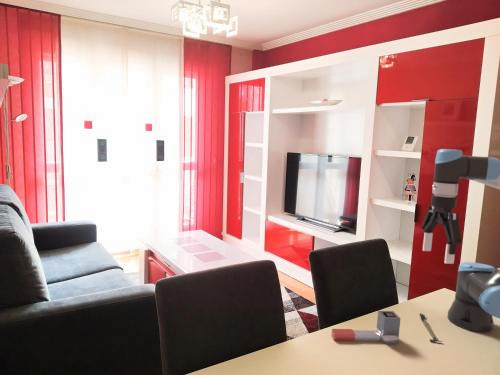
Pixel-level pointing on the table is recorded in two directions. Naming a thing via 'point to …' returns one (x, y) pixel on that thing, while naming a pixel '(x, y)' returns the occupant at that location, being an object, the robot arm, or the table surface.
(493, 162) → the robot arm
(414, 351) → the table surface
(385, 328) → the socket
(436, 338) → the tomahawk
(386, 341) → the ratchet
